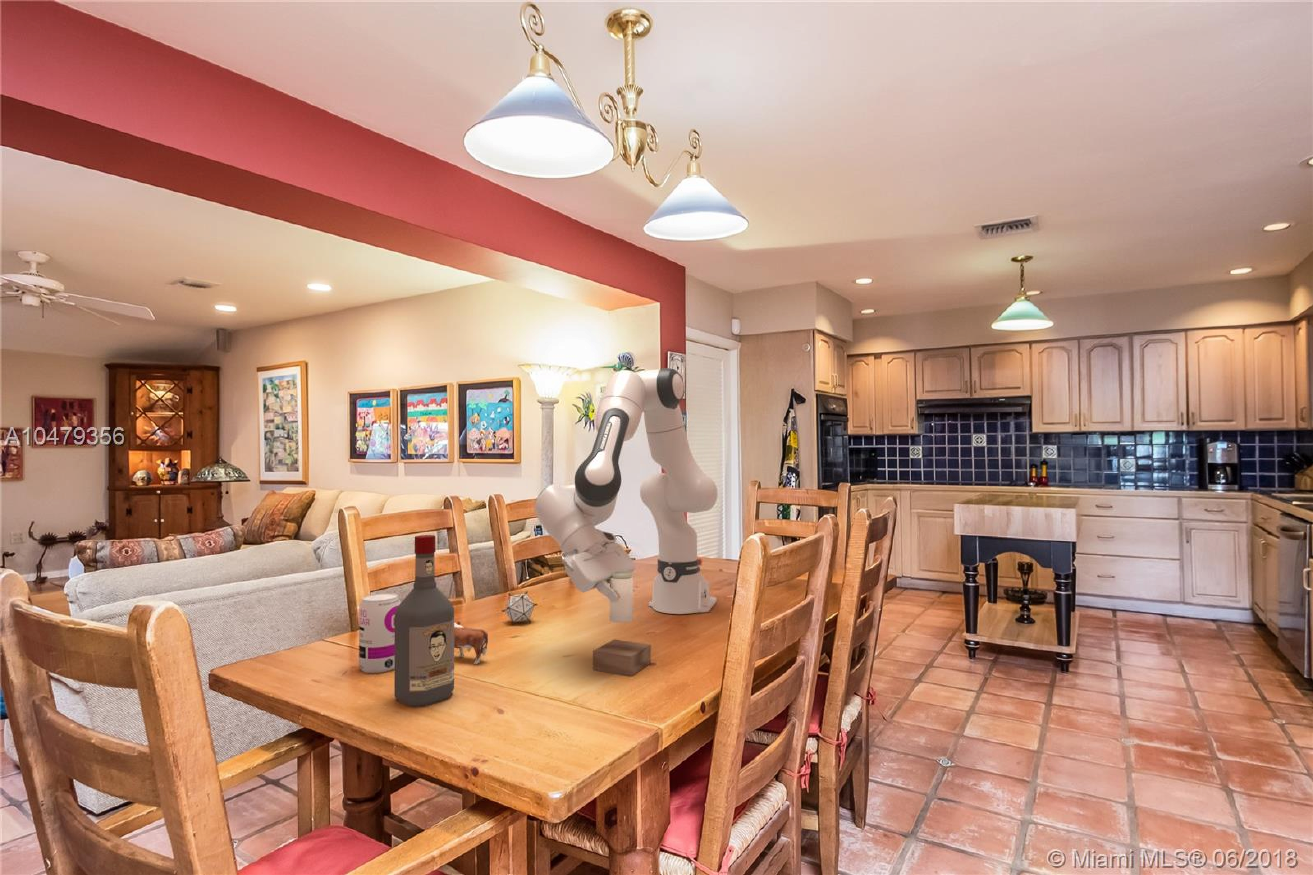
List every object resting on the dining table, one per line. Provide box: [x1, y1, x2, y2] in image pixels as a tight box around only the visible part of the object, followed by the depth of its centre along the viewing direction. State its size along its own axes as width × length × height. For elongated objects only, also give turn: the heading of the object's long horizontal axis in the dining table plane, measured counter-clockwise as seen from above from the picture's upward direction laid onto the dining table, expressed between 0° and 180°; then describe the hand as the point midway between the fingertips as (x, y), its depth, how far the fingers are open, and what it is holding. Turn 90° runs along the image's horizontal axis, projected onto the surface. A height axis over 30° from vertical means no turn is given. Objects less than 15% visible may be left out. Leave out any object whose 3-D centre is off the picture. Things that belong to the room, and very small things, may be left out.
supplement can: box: [358, 592, 402, 674], centre depth 140 cm, size 8×8×15 cm
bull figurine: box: [454, 621, 489, 665], centre depth 145 cm, size 4×13×8 cm, turn 59°
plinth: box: [592, 638, 652, 677], centre depth 140 cm, size 9×9×4 cm
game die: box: [501, 590, 538, 626], centre depth 176 cm, size 9×8×10 cm
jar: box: [609, 572, 634, 624], centre depth 140 cm, size 5×5×10 cm
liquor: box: [393, 534, 455, 707], centre depth 124 cm, size 9×9×30 cm
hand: (624, 596), depth 140 cm, fingers closed on jar, 5 cm apart
